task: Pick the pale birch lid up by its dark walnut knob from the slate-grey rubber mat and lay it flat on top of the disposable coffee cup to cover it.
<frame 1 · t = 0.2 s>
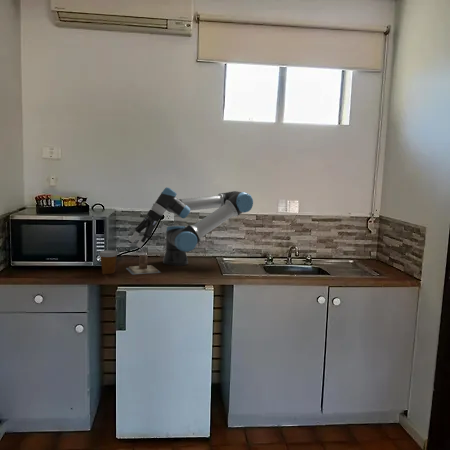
hand: (134, 244, 259), 15 cm above the worktop, tool tilted 35°, fingers open, 13 cm apart
mat: (143, 271, 262), on the worktop
lid: (143, 270, 262), point 1 cm above the worktop, touching mat
disposable coffee cup: (108, 273, 255), on the worktop
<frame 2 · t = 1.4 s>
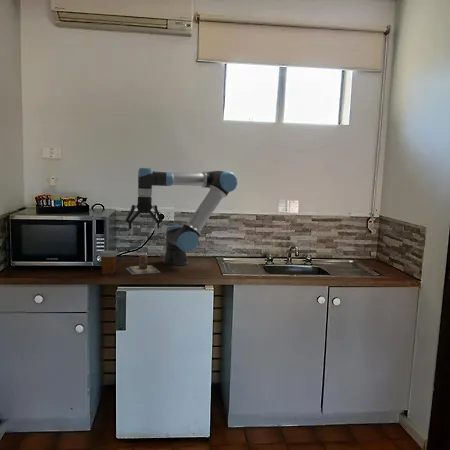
hand: (143, 234, 259), 21 cm above the worktop, tool pointing down, fingers open, 13 cm apart
nothing on the worktop moved.
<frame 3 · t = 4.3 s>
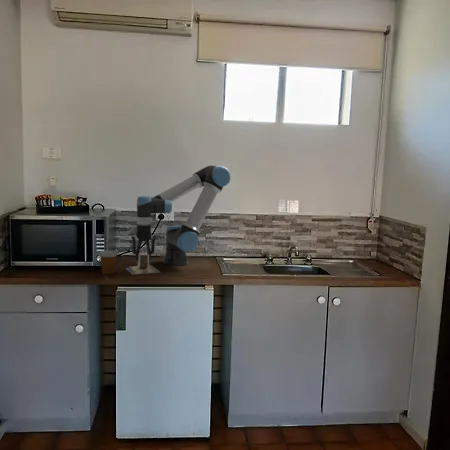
hand: (143, 265, 261), 3 cm above the worktop, tool pointing down, fingers closed on lid, 4 cm apart
lid: (143, 270, 262), point 1 cm above the worktop, touching gripper, mat
everything else where it was.
when the fingers open (16 cm above the worktop, at t = 9.8 s): lid drops 2 cm, resting on disposable coffee cup.
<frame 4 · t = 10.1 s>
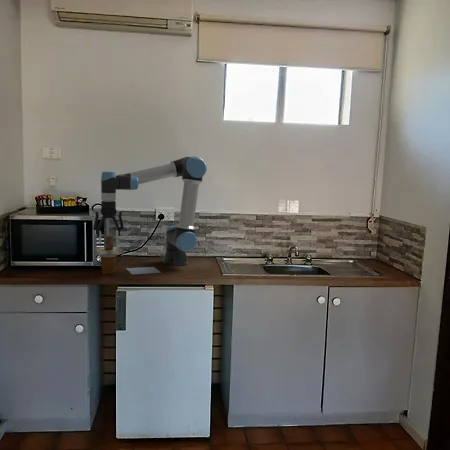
hand: (108, 242, 253), 17 cm above the worktop, tool pointing down, fingers open, 8 cm apart
lid: (108, 251, 253), point 12 cm above the worktop, touching disposable coffee cup
disposable coffee cup: (108, 273, 255), on the worktop, touching lid
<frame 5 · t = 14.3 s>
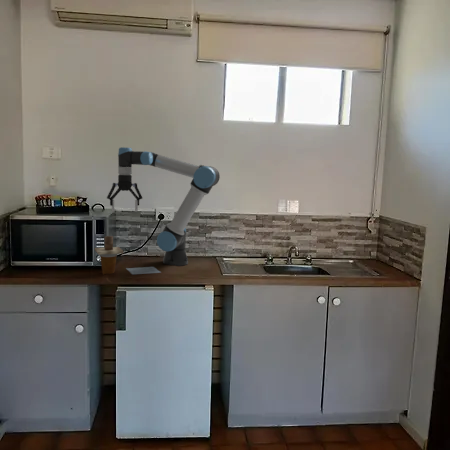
hand: (124, 211, 273), 32 cm above the worktop, tool pointing down, fingers open, 13 cm apart
nothing on the worktop moved.
at the end: lid 0.1 cm off-centre on the disposable coffee cup, point 12.2 cm above the disposable coffee cup's base; disposable coffee cup tilted 0°; the gripper is holding nothing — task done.
